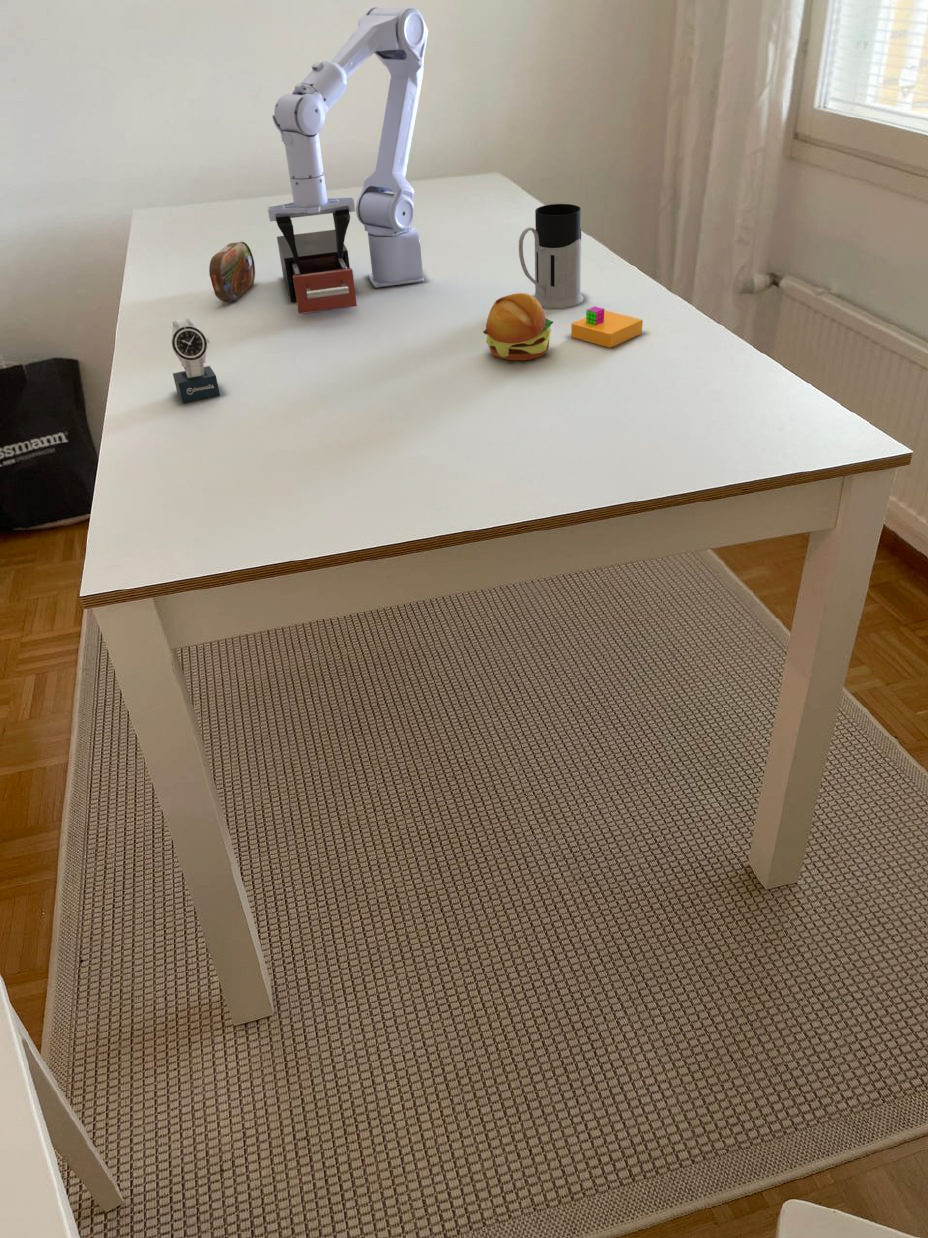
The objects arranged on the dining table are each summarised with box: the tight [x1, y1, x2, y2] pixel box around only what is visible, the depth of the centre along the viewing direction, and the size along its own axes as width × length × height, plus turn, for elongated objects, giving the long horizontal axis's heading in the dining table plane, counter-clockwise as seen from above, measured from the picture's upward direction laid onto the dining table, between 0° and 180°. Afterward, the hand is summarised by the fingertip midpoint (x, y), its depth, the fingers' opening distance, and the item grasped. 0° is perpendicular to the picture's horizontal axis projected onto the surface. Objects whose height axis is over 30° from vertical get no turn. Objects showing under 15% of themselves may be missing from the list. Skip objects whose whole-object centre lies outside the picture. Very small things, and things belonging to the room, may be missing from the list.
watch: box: [171, 318, 221, 404], centre depth 143 cm, size 6×8×11 cm
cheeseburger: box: [482, 292, 554, 361], centre depth 150 cm, size 10×11×10 cm
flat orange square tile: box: [570, 306, 644, 349], centre depth 155 cm, size 8×8×4 cm
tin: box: [208, 241, 256, 302], centre depth 182 cm, size 15×3×8 cm, turn 168°
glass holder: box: [518, 203, 584, 309], centre depth 165 cm, size 9×14×15 cm, turn 137°
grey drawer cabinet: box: [276, 229, 351, 303], centre depth 183 cm, size 15×11×8 cm
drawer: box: [290, 256, 358, 314], centre depth 173 cm, size 19×10×6 cm, turn 14°
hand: (318, 258), depth 171 cm, fingers open, 7 cm apart
